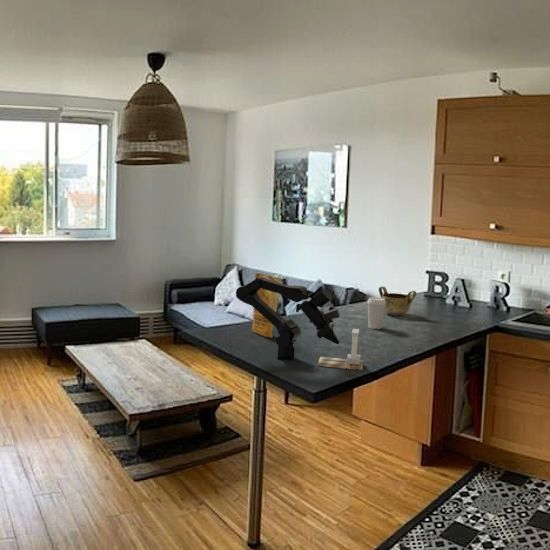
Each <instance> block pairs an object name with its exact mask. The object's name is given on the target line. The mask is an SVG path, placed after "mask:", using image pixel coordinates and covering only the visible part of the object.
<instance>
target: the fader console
mask: <svg viewBox="0 0 550 550" xmlns="http://www.w3.org/2000/svg"><path fill="white" fill-rule="evenodd" d="M317 366H318V367H325V368H326V367H327V368H328V367H329V368H337V369H346V368H347V369H349V370H356V369H358V370H357V371H359V370H360V371H363V370H362V369H363V368H364V360H361V359H360V364H359V365H357V364H347V358H339V357H327V356H320V357H319V358H318V363H317ZM347 369H346V370H347Z"/></svg>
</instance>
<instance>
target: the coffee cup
mask: <svg viewBox="0 0 550 550" xmlns="http://www.w3.org/2000/svg"><path fill="white" fill-rule="evenodd" d="M366 302H367V320H368V321H367V323H368V324H367V325H368V326H367V328H369V329H371V330H372V329H373V330H380V329H382V324H383V319H384V313H385V311H384V308H385V304H386V301H385V299H383V298H381V297H376V296H375V297H369V298H368V300H367V301H366Z"/></svg>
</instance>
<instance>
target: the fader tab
mask: <svg viewBox="0 0 550 550" xmlns="http://www.w3.org/2000/svg"><path fill="white" fill-rule="evenodd" d="M359 334H360V329H359V328H352V331H351V337H352V338H351V351H350V352H351V353H347V357H346V359H347V364H357V365H359V364H360V360H361V354H358V344H359V343H358V342H359Z"/></svg>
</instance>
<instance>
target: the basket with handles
mask: <svg viewBox="0 0 550 550" xmlns="http://www.w3.org/2000/svg"><path fill="white" fill-rule="evenodd" d="M378 292H379V295H380V298H383V299H385V301H386V304H385V308H384V313H387V314H389V315H391V316H397V317H398V316H402V315H405V314H406V313H408V311H409V310H410V308H411V305H412V302H413V301H414V299H415V298H416V296H417V290H416V291H415V290H411V291H409V292H408V293H407V294H403V293H394V292H390V293H389V292H388V290H387V288H386V286H379V288H378ZM411 294H413V295H412V297H411Z"/></svg>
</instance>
